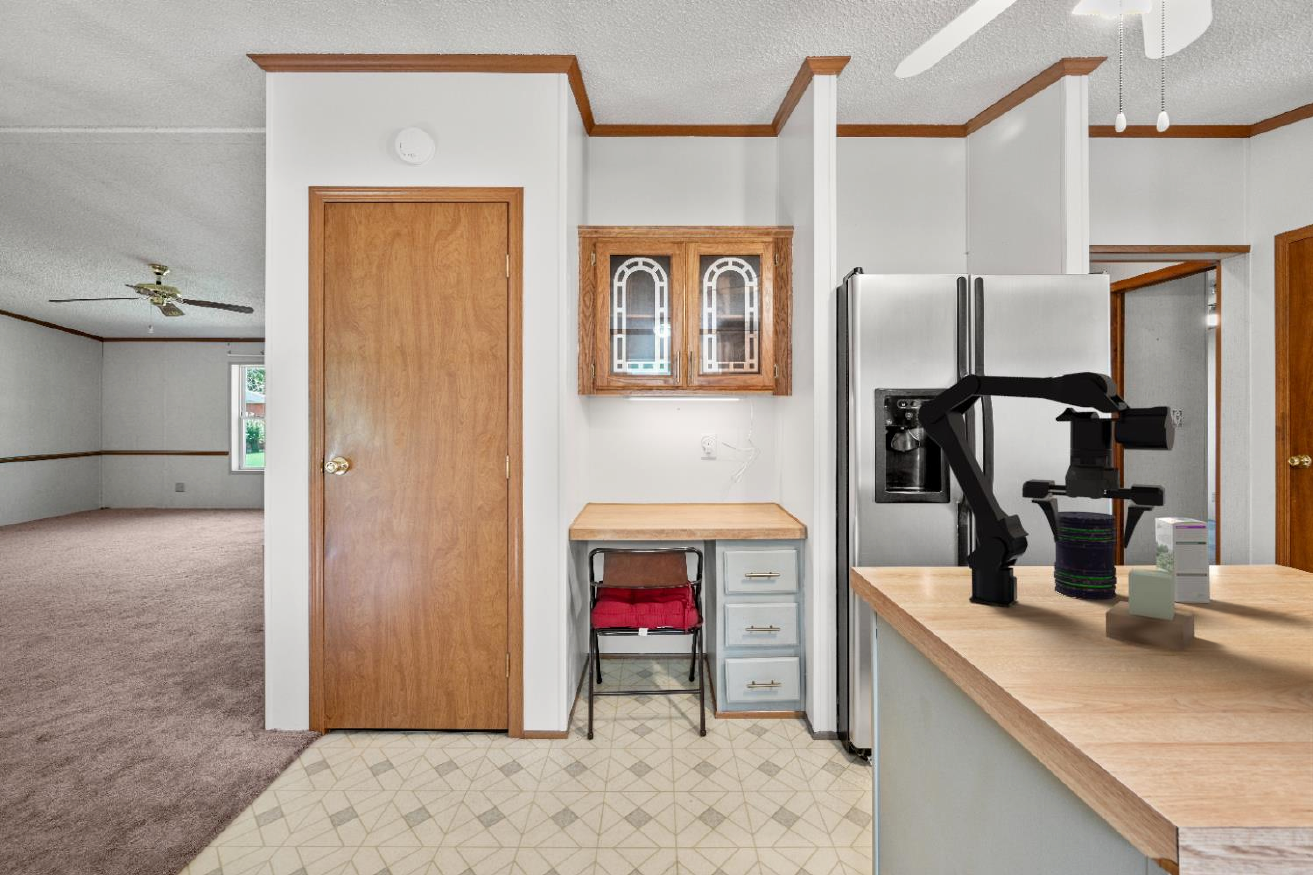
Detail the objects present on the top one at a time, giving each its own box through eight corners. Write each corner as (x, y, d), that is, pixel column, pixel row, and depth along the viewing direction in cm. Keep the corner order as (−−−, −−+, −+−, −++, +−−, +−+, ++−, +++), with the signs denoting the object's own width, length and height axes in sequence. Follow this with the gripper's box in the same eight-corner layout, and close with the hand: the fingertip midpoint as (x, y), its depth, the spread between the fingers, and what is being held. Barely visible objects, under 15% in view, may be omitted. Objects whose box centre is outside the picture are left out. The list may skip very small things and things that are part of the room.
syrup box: (1211, 603, 110) (1211, 521, 109) (1173, 602, 111) (1172, 521, 111) (1191, 595, 115) (1190, 517, 115) (1154, 594, 116) (1153, 516, 116)
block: (1106, 638, 94) (1105, 612, 94) (1120, 625, 100) (1120, 601, 100) (1183, 654, 87) (1183, 625, 87) (1194, 639, 93) (1194, 612, 93)
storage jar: (1130, 600, 113) (1129, 518, 113) (1075, 601, 113) (1074, 518, 113) (1092, 586, 123) (1091, 510, 123) (1042, 587, 123) (1041, 511, 123)
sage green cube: (1128, 613, 93) (1128, 573, 93) (1133, 606, 97) (1132, 567, 97) (1172, 620, 89) (1171, 578, 89) (1174, 612, 93) (1174, 572, 93)
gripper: (1014, 450, 102) (1014, 544, 102) (1161, 452, 89) (1160, 560, 90) (1029, 447, 110) (1029, 535, 110) (1165, 449, 98) (1165, 548, 98)
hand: (1090, 544), depth 102 cm, fingers open, 9 cm apart
